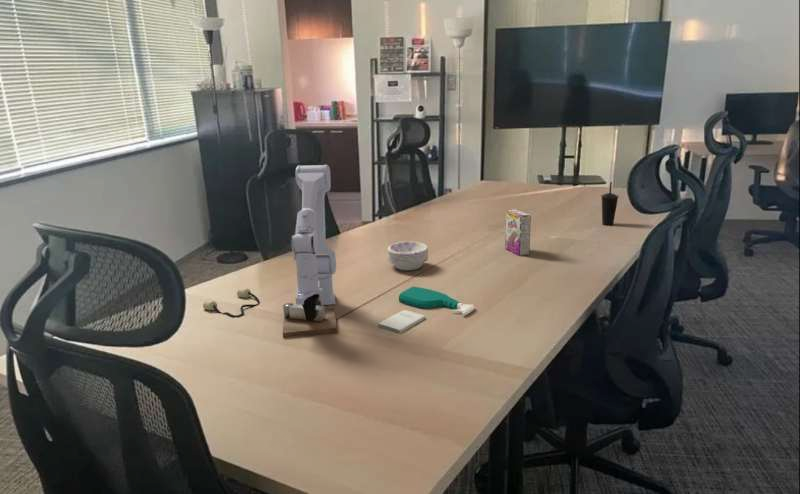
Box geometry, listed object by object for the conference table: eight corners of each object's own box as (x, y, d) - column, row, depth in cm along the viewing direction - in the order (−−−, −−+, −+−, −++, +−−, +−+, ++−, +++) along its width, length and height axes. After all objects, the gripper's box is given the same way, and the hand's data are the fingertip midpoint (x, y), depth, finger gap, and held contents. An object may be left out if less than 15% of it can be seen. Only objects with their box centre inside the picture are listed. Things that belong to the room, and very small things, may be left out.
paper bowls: (405, 276, 203) (405, 255, 201) (380, 266, 214) (379, 246, 212) (436, 266, 212) (436, 246, 210) (410, 258, 223) (410, 239, 221)
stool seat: (285, 316, 171) (283, 301, 169) (334, 312, 173) (333, 297, 171) (283, 337, 157) (281, 321, 155) (337, 332, 159) (335, 316, 157)
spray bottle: (415, 292, 188) (480, 309, 174) (395, 303, 179) (462, 321, 165) (414, 284, 187) (480, 300, 173) (395, 294, 179) (462, 312, 165)
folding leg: (282, 317, 166) (281, 306, 165) (287, 313, 169) (286, 302, 168) (321, 321, 162) (320, 310, 161) (325, 317, 165) (324, 306, 164)
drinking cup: (618, 223, 265) (621, 181, 260) (614, 227, 259) (617, 184, 254) (601, 221, 269) (604, 180, 264) (597, 225, 263) (600, 183, 258)
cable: (274, 303, 182) (273, 293, 181) (233, 321, 170) (231, 311, 169) (243, 294, 191) (242, 285, 190) (202, 310, 179) (200, 300, 178)
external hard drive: (377, 328, 162) (403, 314, 172) (400, 335, 157) (425, 320, 167) (377, 323, 162) (403, 309, 171) (399, 329, 157) (425, 315, 166)
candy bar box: (504, 249, 231) (505, 210, 227) (514, 247, 233) (515, 208, 228) (519, 256, 221) (520, 215, 217) (530, 254, 223) (531, 214, 218)
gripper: (311, 283, 151) (315, 330, 155) (328, 266, 164) (331, 310, 168) (287, 282, 152) (291, 328, 156) (305, 266, 166) (309, 309, 170)
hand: (310, 319), depth 162 cm, fingers closed, pressing on folding leg
